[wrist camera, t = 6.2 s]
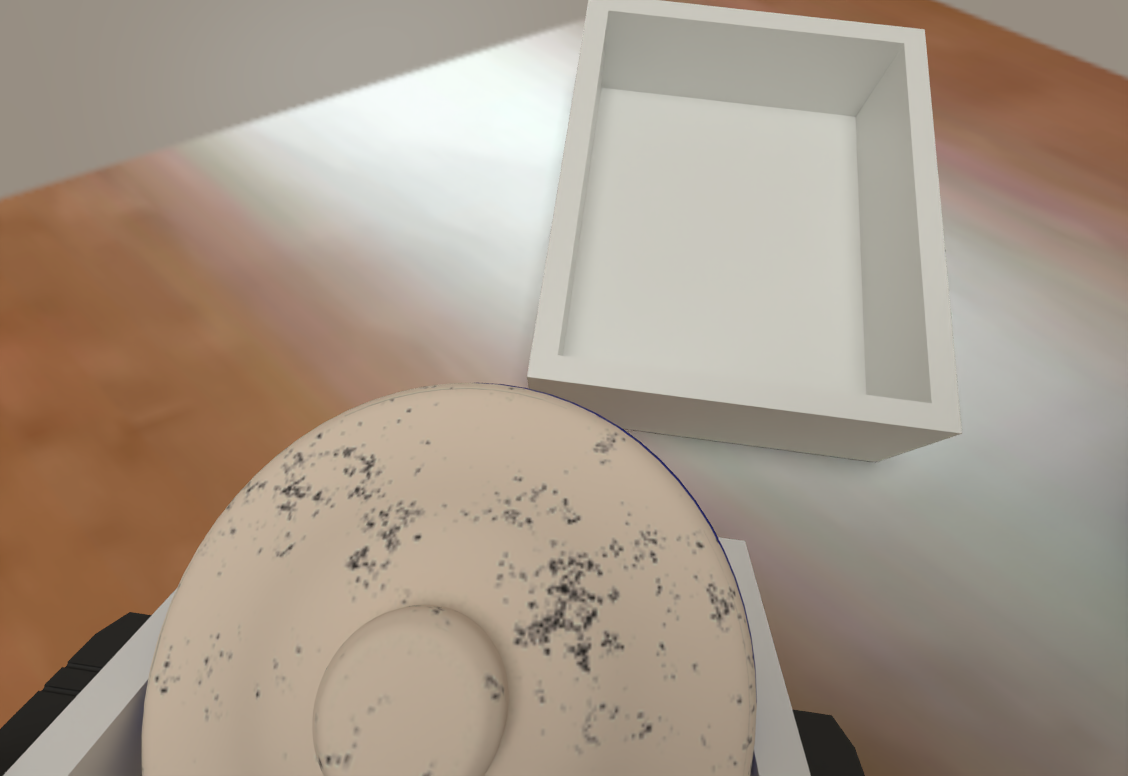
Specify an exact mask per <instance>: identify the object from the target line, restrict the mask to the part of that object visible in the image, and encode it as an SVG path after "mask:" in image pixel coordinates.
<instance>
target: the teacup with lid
mask: <svg viewBox="0 0 1128 776" xmlns="http://www.w3.org/2000/svg"><path fill="white" fill-rule="evenodd" d="M756 709H757V692H756V668H755V660H754V652H753V645H752V637H751V632H750V628H749V623H748V619H747V614H746V610H745V605H744V602H743V599H742V596H741V593H740V589H739V586H738V583H737V580H736V577H735V574H734V572H733V570H732V567H731V565H730V562H729V560H728V558H727V555H726V553H725V550H724V548H723V546H722V544H721V543H720V541H719V539H718V537H717V535H716V533H715V531H714V529H713V527H712V525H711V524H710V522H709V521H708V519H707V517H706V516H705V514H704V513H703V511H702V510H701V508H700V507H699V505H698V504H697V502H696V500H695V499H694V498H693V497H692V495H691V494H690V493H689V491H688V490H687V489H686V488H685V486H684V485H683V484H682V483H681V481H680V480H679V479H678V478H677V477H676V476H675V474H674V473H673V472H672V471H671V470H670V469H669V468H668V467H667V466H666V465H665V464H664V463H663V462H662V461H661V460H660V459H659V458H658V457H657V456H656V455H655V454H654V453H652V452H651V451H650V450H649V449H648V448H647V447H646V446H644V445H643V444H642V443H641V442H640V441H639V440H637V439H636V438H634V437H633V436H632V435H630V434H629V433H627V432H626V431H625V430H623V429H622V428H621V427H619V426H618V425H616V424H614V423H612V422H611V421H609V420H607V419H606V418H604V417H602V416H601V415H599V414H597V413H595V412H593V411H591V410H589V409H587V408H584V407H582V406H580V405H578V404H576V403H574V402H571V401H568V400H565V399H562V398H560V397H557V396H554V395H551V394H548V393H544V392H540V391H536V390H532V389H528V388H522V387H516V386H509V385H503V384H489V383H456V384H442V385H434V386H426V387H420V388H415V389H411V390H406V391H402V392H397V393H394V394H391V395H387V396H384V397H381V398H378V399H375V400H372V401H369V402H367V403H364V404H362V405H360V406H357V407H355V408H352V409H350V410H348V411H346V412H344V413H342V414H340V415H338V416H336V417H334V418H332V419H330V420H328V421H326V422H325V423H323V424H321V425H320V426H318V427H316V428H315V429H313V430H312V431H310V432H309V433H307V434H305V435H304V436H302V437H301V438H299V439H298V440H297V441H295V442H294V443H293V444H291V445H290V446H289V447H287V448H286V449H285V450H284V451H282V452H281V453H280V454H278V455H277V456H276V457H275V458H274V459H273V460H272V461H270V462H269V463H268V464H267V465H266V466H265V467H264V468H263V469H262V470H261V471H259V472H258V473H257V474H256V475H255V476H254V477H253V478H252V479H251V480H250V482H249V483H248V484H247V485H246V486H245V487H244V488H243V489H242V490H241V491H240V492H239V493H238V494H237V495H236V497H235V498H234V499H233V500H232V501H231V503H230V504H229V505H228V506H227V508H226V509H225V510H224V512H223V513H222V514H221V515H220V517H219V518H218V519H217V520H216V522H215V523H214V525H213V526H212V528H211V529H210V531H209V532H208V534H207V535H206V537H205V538H204V540H203V541H202V543H201V544H200V546H199V547H198V549H197V551H196V553H195V555H194V556H193V558H192V560H191V562H190V564H189V565H188V567H187V569H186V571H185V573H184V575H183V577H182V579H181V581H180V583H179V585H178V588H177V590H176V592H175V594H174V597H173V599H172V601H171V603H170V606H169V608H168V611H167V614H166V617H165V620H164V622H163V625H162V628H161V631H160V634H159V637H158V641H157V644H156V648H155V652H154V656H153V660H152V663H151V667H150V673H149V678H148V684H147V690H146V695H145V701H144V713H143V724H142V776H750V773H751V766H752V759H753V751H754V744H755V730H756Z"/></svg>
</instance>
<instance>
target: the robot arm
mask: <svg viewBox="0 0 1128 776" xmlns="http://www.w3.org/2000/svg"><path fill="white" fill-rule="evenodd" d="M718 539H719V541H720V543H721V544H722V546H723V548H724V550H725V553H726V555H727V558H728V560H729V562H730V565H731V567H732V570H733V572H734V574H735V577H736V580H737V583H738V586H739V589H740V593H741V596H742V599H743V602H744V605H745V610H746V614H747V619H748V623H749V628H750V632H751V637H752V645H753V652H754V660H755V668H756V692H757V709H756V730H755V744H754V751H753V759H752V766H751V773H750V776H865V775H864V772H863V769H862V767H861V764H860V761H859V758H858V756H857V753H856V750H855V747H854V746H853V745H852V743H851V742H850V740H849V739H848V738H847V736H846V735H845V733H844V732H843V731H842V729H841V728H840V726H839V725H838V724H837V722H836V721H835V719H834V718H833V717H832V715H825V714H818V713H812V712H805V711H798V710H792V707H791V703H790V700H789V696H788V693H787V689H786V685H785V682H784V678H783V675H782V671H781V668H780V664H779V661H778V657H777V653H776V650H775V646H774V643H773V639H772V636H771V632H770V628H769V625H768V621H767V618H766V614H765V611H764V607H763V604H762V600H761V596H760V593H759V589H758V586H757V582H756V579H755V575H754V571H753V568H752V564H751V561H750V557H749V554H748V550H747V547H746V543H745V541H742V540H735V539H727V538H720V537H718ZM176 590H177V589H176ZM176 590H175V591H174V592H173V593H172V594H171V595H170V596H169V597H168V598H167V600H166V601H165V602H164V603H163V604H162V605H161V606H160V607H159V608H158V609H157V610H156V611H155V612H154V614H153V615H145V614H139V613H132V612H129V613H128V614H126V615H125V616H123V617H121V618H120V619H118V620H117V621H115V622H114V623H112V624H110V625H109V626H107V627H106V628H104V629H103V630H101V631H100V632H98V633H96V634H95V635H94V636H93V637H92V638H91V639H90V640H89V641H88V642H87V643H86V644H85V645H84V646H83V647H82V648H81V649H80V650H79V651H78V652H77V653H76V654H75V655H74V656H73V657H72V658H71V659H70V660H69V661H68V664H67V666H66V667H65V668H63V667H62V668H61V669H60V670H59V671H58V672H57V673H56V674H55V675H54V676H53V677H52V678H51V679H50V680H49V681H48V682H47V683H46V684H45V687H44V689H43V690H42V691H38V692H37V693H36V694H35V695H34V696H33V697H32V698H31V699H30V700H29V701H28V702H27V703H26V704H25V705H24V706H23V707H22V708H21V709H20V710H19V711H18V712H17V713H16V714H15V715H14V716H13V717H12V718H11V719H10V720H9V721H8V722H7V723H6V724H5V725H4V726H3V727H2V728H1V729H0V776H142V724H143V713H144V701H145V695H146V690H147V684H148V678H149V673H150V667H151V663H152V660H153V656H154V652H155V648H156V644H157V641H158V637H159V634H160V631H161V628H162V625H163V622H164V620H165V617H166V614H167V611H168V608H169V606H170V603H171V601H172V599H173V597H174V594H175V592H176Z"/></svg>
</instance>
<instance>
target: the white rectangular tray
mask: <svg viewBox="0 0 1128 776" xmlns="http://www.w3.org/2000/svg"><path fill="white" fill-rule="evenodd" d="M527 380H528V386H529V389H532V390H536V391H540V392H544V393H548V394H551V395H554V396H557V397H560V398H562V399H565V400H568V401H571V402H574V403H576V404H578V405H580V406H582V407H584V408H587V409H589V410H591V411H593V412H595V413H597V414H599V415H601V416H602V417H604V418H606V419H607V420H609V421H611V422H612V423H614V424H616V425H618V426H619V427H621V428H622V429H629V430H637V431H644V432H652V433H659V434H667V435H674V436H682V437H689V438H697V439H704V440H712V441H720V442H727V443H735V444H742V445H750V446H757V447H765V448H772V449H780V450H788V451H795V452H803V453H810V454H818V455H825V456H833V457H840V458H848V459H855V460H863V461H871V462H878V461H881V460H884V459H887V458H890V457H893V456H896V455H899V454H902V453H905V452H908V451H911V450H914V449H917V448H920V447H923V446H926V445H929V444H932V443H935V442H938V441H941V440H944V439H947V438H950V437H953V436H956V435H959V434H962V428H961V417H960V406H959V396H958V385H957V374H956V363H955V352H954V342H953V331H952V320H951V309H950V298H949V288H948V277H947V266H946V255H945V245H944V234H943V223H942V212H941V201H940V191H939V180H938V169H937V158H936V147H935V137H934V126H933V115H932V104H931V93H930V83H929V72H928V61H927V50H926V39H925V29H915V28H906V27H897V26H888V25H879V24H870V23H861V22H851V21H842V20H833V19H824V18H815V17H806V16H797V15H788V14H778V13H769V12H760V11H751V10H742V9H733V8H724V7H714V6H705V5H696V4H687V3H678V2H669V1H660V0H589V1H588V7H587V13H586V19H585V25H584V31H583V37H582V43H581V49H580V56H579V62H578V68H577V74H576V80H575V86H574V92H573V98H572V105H571V111H570V117H569V123H568V129H567V135H566V141H565V147H564V153H563V160H562V166H561V172H560V178H559V184H558V190H557V196H556V202H555V209H554V215H553V221H552V227H551V233H550V239H549V245H548V251H547V258H546V264H545V270H544V276H543V282H542V288H541V294H540V300H539V307H538V313H537V319H536V325H535V331H534V337H533V343H532V349H531V355H530V362H529V368H528V374H527Z"/></svg>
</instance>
